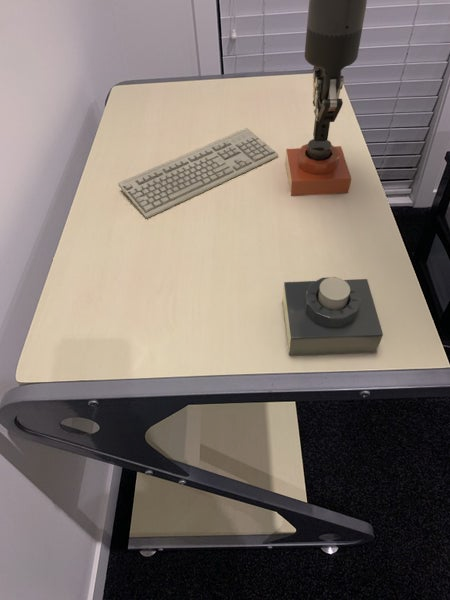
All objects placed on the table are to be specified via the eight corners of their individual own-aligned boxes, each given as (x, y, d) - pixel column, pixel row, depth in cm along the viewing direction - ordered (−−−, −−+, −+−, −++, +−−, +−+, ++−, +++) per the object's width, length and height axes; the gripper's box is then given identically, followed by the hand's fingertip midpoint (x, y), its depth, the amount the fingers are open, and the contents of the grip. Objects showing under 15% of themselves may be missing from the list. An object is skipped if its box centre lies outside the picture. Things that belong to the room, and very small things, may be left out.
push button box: (361, 297, 60) (370, 268, 55) (376, 352, 54) (387, 324, 50) (282, 300, 60) (284, 271, 56) (288, 355, 55) (291, 328, 50)
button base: (338, 160, 81) (342, 135, 77) (348, 193, 75) (353, 168, 71) (285, 163, 81) (286, 138, 77) (290, 195, 75) (292, 171, 71)
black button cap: (328, 148, 76) (329, 137, 74) (331, 161, 73) (333, 150, 71) (305, 149, 76) (306, 138, 74) (308, 162, 73) (309, 151, 72)
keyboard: (146, 219, 73) (144, 210, 72) (119, 190, 79) (117, 181, 77) (278, 157, 83) (279, 147, 81) (246, 135, 88) (246, 126, 87)
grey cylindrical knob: (344, 287, 54) (347, 276, 52) (350, 310, 52) (353, 299, 50) (315, 288, 54) (317, 277, 53) (320, 311, 52) (322, 300, 50)
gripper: (373, 39, 54) (350, 160, 68) (353, 4, 63) (335, 117, 76) (313, 43, 55) (302, 162, 68) (301, 7, 63) (293, 120, 76)
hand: (320, 138), depth 72 cm, fingers closed
